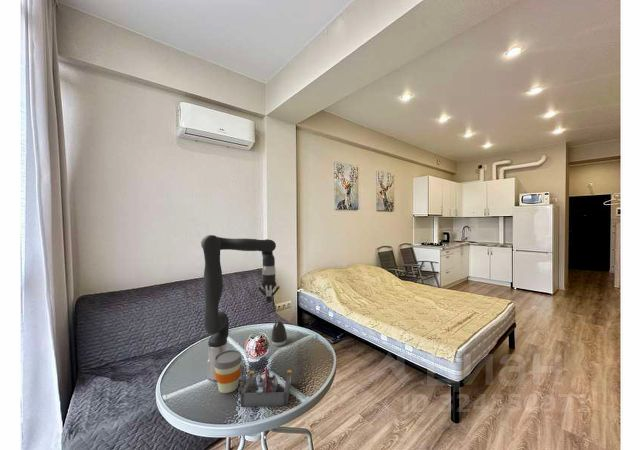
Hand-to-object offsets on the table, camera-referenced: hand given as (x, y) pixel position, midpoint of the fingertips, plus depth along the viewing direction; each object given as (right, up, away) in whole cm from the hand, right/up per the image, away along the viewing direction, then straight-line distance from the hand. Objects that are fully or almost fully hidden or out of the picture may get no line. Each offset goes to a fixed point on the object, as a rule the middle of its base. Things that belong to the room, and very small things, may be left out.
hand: (269, 302), depth 151 cm
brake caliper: (+8, -32, -31) cm, 46 cm away
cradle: (+6, -32, -34) cm, 47 cm away
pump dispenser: (+3, -32, +14) cm, 35 cm away
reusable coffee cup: (-14, -33, -28) cm, 45 cm away
